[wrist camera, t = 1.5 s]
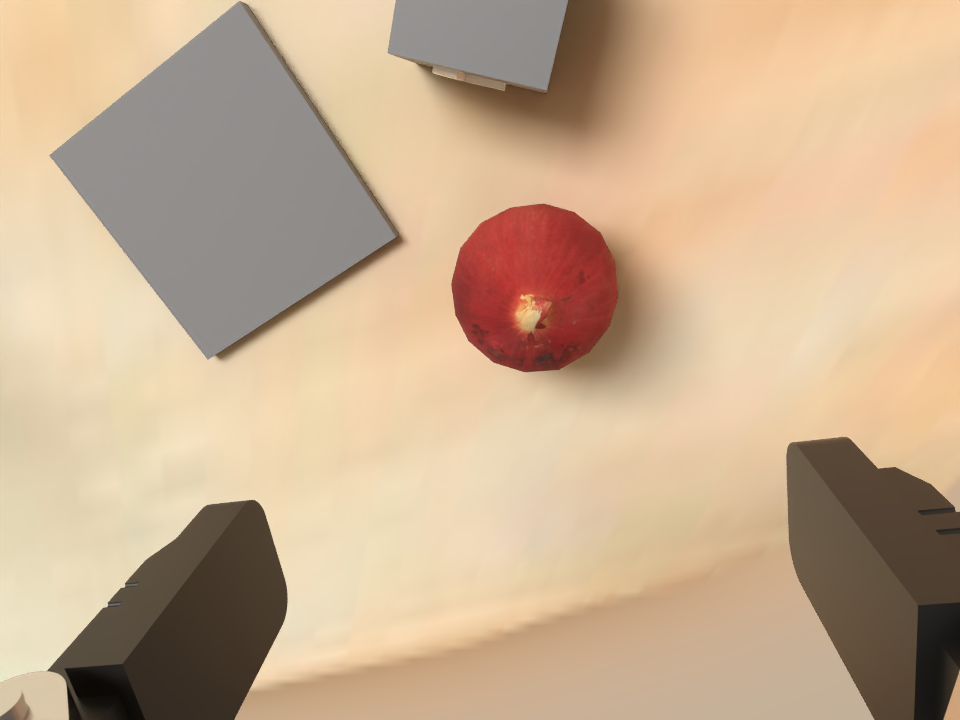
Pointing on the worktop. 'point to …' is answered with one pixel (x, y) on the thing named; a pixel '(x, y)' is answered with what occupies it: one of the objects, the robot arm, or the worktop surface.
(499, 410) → the worktop surface
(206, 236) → the mat
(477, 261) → the onion
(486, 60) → the marked cube
